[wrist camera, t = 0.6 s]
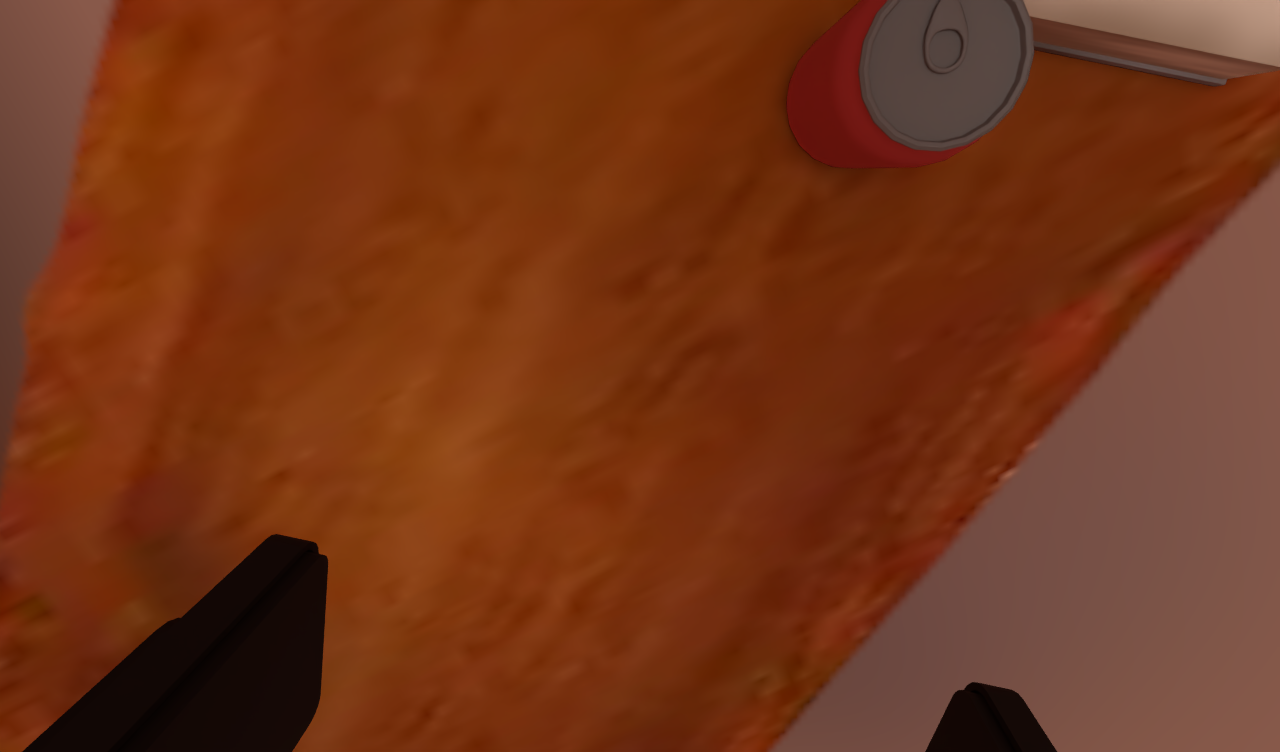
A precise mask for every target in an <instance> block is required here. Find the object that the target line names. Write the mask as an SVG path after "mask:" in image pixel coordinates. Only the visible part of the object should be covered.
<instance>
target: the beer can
mask: <svg viewBox="0 0 1280 752" xmlns="http://www.w3.org/2000/svg"><path fill="white" fill-rule="evenodd" d="M1033 56H1034V40H1033V23H1032V21H1031V18H1030V16H1029V13H1028V11H1027V8H1026V6H1025V3H1024V1H1023V0H861V1H860V2H859V3H857V4H856V5H855V6H854V7H853V8H852V9H851V10H850V11H849V12H848V13H847V14H845V15H844V16H843V17H842V18H841V19H840V20H839V21H838V22H837V23H836V24H834V25H833V26H832V27H831V28H830V29H829V30H828V31H827V32H826V33H825V34H823V35H822V36H821V37H820V38H819V39H818V40H817V41H816V42H815V43H814V44H813V45H812V46H811V47H810V48H809V50H808V51H807V52H806V53H805V54H804V56H803V57H802V58H801V59H800V60H799V62H798V64H797V66H796V68H795V71H794V73H793V75H792V77H791V80H790V82H789V88H788V95H787V103H786V107H787V113H788V119H789V126H790V128H791V130H792V132H793V134H794V136H795V138H796V140H797V142H798V144H799V145H800V146H801V147H802V148H803V149H804V150H805V151H806V152H807V153H808V154H809V155H810V156H811V157H812V158H813V159H815V160H818V161H820V162H822V163H825V164H827V165H829V166H831V167H843V168H904V167H920V166H924V165H928V164H932V163H936V162H940V161H944V160H946V159H948V158H950V157H951V156H953V155H955V154H956V153H958V152H960V151H962V150H963V149H965V148H967V147H968V146H970V145H972V144H973V143H975V142H976V141H978V140H979V139H980V138H981V137H982V136H983V135H984V134H986V133H988V132H990V131H991V130H992V129H993V128H994V127H995V126H996V125H997V124H998V123H999V122H1000V121H1001V120H1002V119H1003V118H1004V117H1005V116H1006V115H1007V114H1008V113H1009V112H1010V111H1011V110H1012V109H1013V107H1014V105H1015V103H1016V101H1017V100H1018V98H1019V96H1020V94H1021V92H1022V91H1023V89H1024V87H1025V85H1026V83H1027V81H1028V77H1029V72H1030V68H1031V64H1032V60H1033Z"/></svg>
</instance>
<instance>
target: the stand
mask: <svg viewBox="0 0 1280 752" xmlns="http://www.w3.org/2000/svg"><path fill="white" fill-rule="evenodd" d="M1023 1H1024V3H1025V6H1026V8H1027V11H1028V13H1029V16H1030V18H1031V21H1032V23H1033V40H1034V50H1038V51H1043V52H1048V53H1053V54H1057V55H1062V56H1067V57H1072V58H1077V59H1082V60H1087V61H1092V62H1097V63H1102V64H1107V65H1112V66H1117V67H1121V68H1126V69H1131V70H1136V71H1141V72H1146V73H1151V74H1156V75H1161V76H1166V77H1171V78H1176V79H1181V80H1185V81H1190V82H1195V83H1200V84H1205V85H1210V86H1221V85H1225V83H1226V81H1227V79H1229V78H1235V77H1241V76H1248V75H1254V74H1260V73H1266V72H1272V71H1278V70H1280V0H1023Z"/></svg>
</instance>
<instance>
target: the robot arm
mask: <svg viewBox="0 0 1280 752" xmlns="http://www.w3.org/2000/svg"><path fill="white" fill-rule="evenodd" d="M327 574H328V559H327V556H325V555H321V554H319V552H318V546H317V544H316V543H314V542H311V541H307V540H302V539H297V538H293V537H288V536H283V535H278V534H275V535H271V536H270V537H268V538H267V539H266V540H265V541H264V542H263V543H261V544H260V545H259V546H258V547H257V548H256V549H255V550H254V551H253V552H252V553H251V554H250V555H248V556H247V557H246V558H245V559H244V560H243V561H242V562H241V563H240V564H239V565H238V566H237V567H236V568H234V569H233V570H232V571H231V572H230V573H229V574H228V575H227V576H226V577H225V578H224V579H223V580H222V581H220V582H219V583H218V584H217V585H216V586H215V587H214V588H213V589H212V590H211V591H210V592H209V593H208V594H206V595H205V596H204V597H203V598H202V599H201V600H200V601H199V602H198V603H197V604H196V605H195V606H194V607H192V608H191V609H190V610H189V611H188V612H187V613H186V614H185V615H184V616H183V617H182V618H176V619H174V620H171V621H168V622H167V623H165V624H164V625H163V626H161V627H160V628H159V629H157V630H156V631H155V632H154V633H153V634H152V635H150V636H149V637H148V638H147V639H146V640H145V641H144V642H143V643H142V644H140V645H139V646H138V647H137V648H136V649H135V650H134V651H133V652H132V653H131V654H129V655H128V656H127V657H126V658H125V659H124V660H123V661H122V662H121V663H120V664H118V665H117V666H116V667H115V668H114V669H113V670H112V671H111V672H110V673H108V674H107V675H106V676H105V677H104V678H103V679H102V680H101V681H100V682H99V683H97V684H96V685H95V686H94V687H93V688H92V689H91V690H90V691H89V692H88V693H86V694H85V695H84V696H83V697H82V698H81V699H80V700H79V701H78V702H77V703H75V704H74V705H73V706H72V707H71V708H70V709H69V710H68V711H67V712H65V713H64V714H63V715H62V716H61V717H60V718H59V719H58V720H57V721H56V722H54V723H53V724H52V725H51V726H50V727H49V728H48V729H47V730H46V731H45V732H43V733H42V734H41V735H40V736H39V737H38V738H37V739H36V740H35V741H33V742H32V743H31V744H30V745H29V746H28V747H27V748H26V749H25V750H24V751H22V752H292V751H293V749H294V748H295V746H296V745H297V743H298V742H299V740H300V738H301V737H302V735H303V734H304V732H305V731H306V729H307V728H308V726H309V724H310V723H311V721H312V719H313V717H314V715H315V713H316V710H317V707H318V704H319V700H320V694H321V678H322V660H323V643H324V626H325V609H326V591H327ZM925 752H1057V751H1056V749H1055V748H1054V746H1053V745H1052V743H1051V742H1050V740H1049V739H1048V737H1047V735H1046V734H1045V732H1044V731H1043V729H1042V728H1041V726H1040V725H1039V723H1038V722H1037V720H1036V719H1035V717H1034V715H1033V714H1032V712H1031V711H1030V709H1029V708H1028V706H1027V705H1026V703H1025V701H1024V700H1023V699H1022V697H1020V695H1019V694H1018V693H1016V692H1015V691H1013V690H1010V689H1005V688H1001V687H996V686H991V685H986V684H982V683H975V682H972V683H970V684H969V685H967V686H966V688H965V689H964V690H958V691H957V692H955V694H954V695H953V697H952V699H951V701H950V703H949V705H948V707H947V709H946V711H945V713H944V715H943V717H942V719H941V721H940V723H939V725H938V727H937V729H936V731H935V733H934V735H933V737H932V739H931V741H930V743H929V745H928V747H927V750H926V751H925Z"/></svg>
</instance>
